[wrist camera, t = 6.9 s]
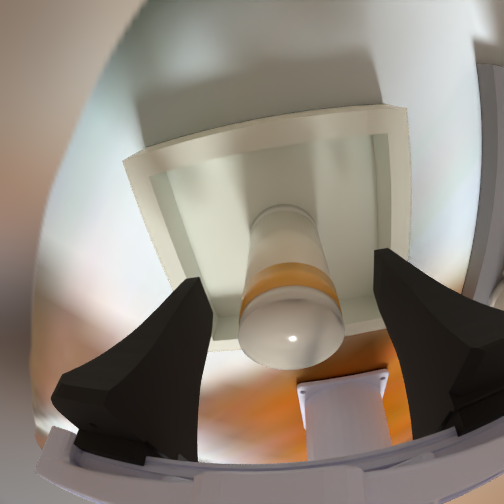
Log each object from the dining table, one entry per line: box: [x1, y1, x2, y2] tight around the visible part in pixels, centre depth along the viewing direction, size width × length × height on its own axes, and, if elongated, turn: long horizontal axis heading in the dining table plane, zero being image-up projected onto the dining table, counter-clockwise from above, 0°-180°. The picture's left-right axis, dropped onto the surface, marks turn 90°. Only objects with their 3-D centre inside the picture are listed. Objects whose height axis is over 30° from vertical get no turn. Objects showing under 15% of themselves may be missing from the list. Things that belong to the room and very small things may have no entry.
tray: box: [123, 104, 411, 352], centre depth 14 cm, size 12×12×3 cm
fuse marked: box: [238, 204, 345, 370], centre depth 12 cm, size 4×4×7 cm
